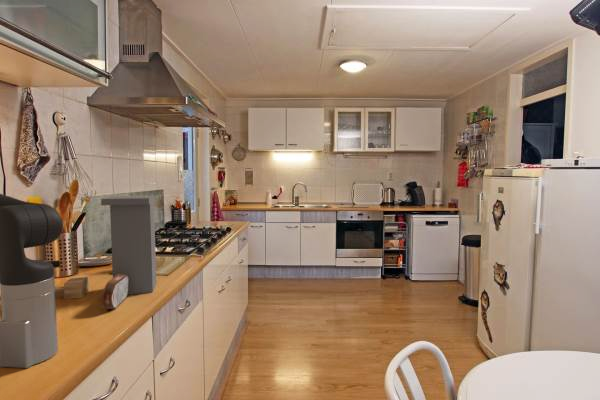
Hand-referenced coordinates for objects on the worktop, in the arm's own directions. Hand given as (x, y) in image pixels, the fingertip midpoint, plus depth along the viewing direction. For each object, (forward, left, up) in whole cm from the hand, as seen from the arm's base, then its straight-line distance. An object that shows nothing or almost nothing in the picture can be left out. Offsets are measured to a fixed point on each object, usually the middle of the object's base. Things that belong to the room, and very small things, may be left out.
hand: (54, 267), depth 115 cm
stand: (+8, -22, -9) cm, 25 cm away
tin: (-6, -25, -10) cm, 27 cm away
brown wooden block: (0, 0, -9) cm, 9 cm away
